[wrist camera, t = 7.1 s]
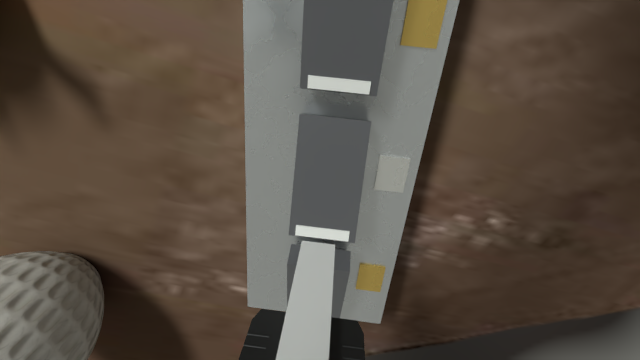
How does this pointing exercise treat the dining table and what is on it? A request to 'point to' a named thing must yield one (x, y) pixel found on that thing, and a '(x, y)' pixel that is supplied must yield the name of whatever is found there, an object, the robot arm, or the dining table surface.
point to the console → (382, 110)
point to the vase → (49, 306)
